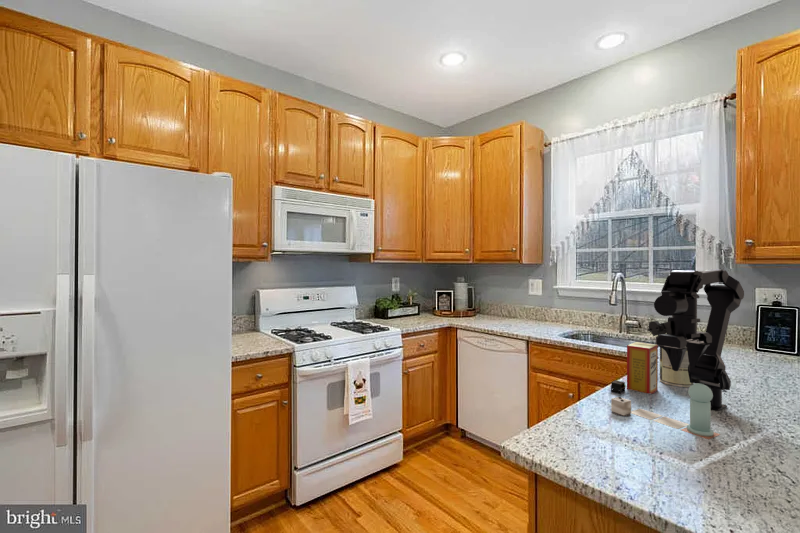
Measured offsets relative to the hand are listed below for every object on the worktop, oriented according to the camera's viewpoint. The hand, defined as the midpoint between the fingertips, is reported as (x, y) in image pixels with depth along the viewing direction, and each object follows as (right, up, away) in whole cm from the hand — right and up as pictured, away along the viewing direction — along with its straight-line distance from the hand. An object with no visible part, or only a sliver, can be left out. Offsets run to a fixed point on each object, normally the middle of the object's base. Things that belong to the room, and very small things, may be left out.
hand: (683, 368), depth 107 cm
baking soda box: (+2, -13, +21) cm, 25 cm away
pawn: (-6, -12, -14) cm, 19 cm away
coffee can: (+20, -14, +30) cm, 39 cm away
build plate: (-9, -14, +17) cm, 24 cm away
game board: (-8, -13, -6) cm, 16 cm away
